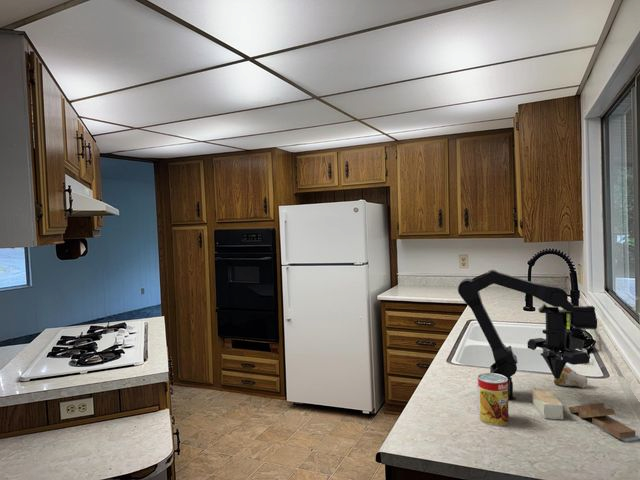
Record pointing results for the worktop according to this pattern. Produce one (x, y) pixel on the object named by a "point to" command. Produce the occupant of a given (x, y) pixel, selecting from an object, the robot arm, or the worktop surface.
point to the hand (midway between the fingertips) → (557, 378)
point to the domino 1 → (587, 407)
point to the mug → (571, 378)
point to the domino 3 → (613, 427)
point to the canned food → (493, 399)
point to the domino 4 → (624, 438)
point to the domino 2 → (596, 413)
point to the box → (547, 404)
